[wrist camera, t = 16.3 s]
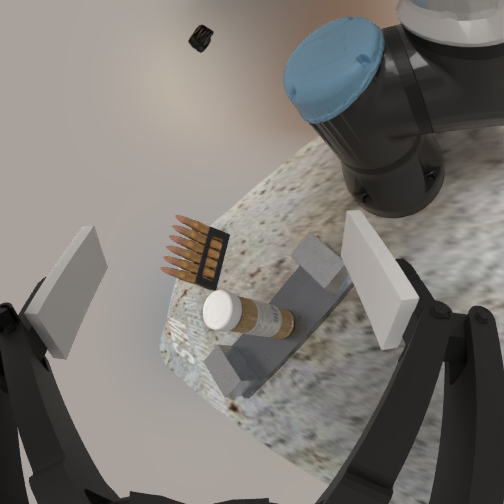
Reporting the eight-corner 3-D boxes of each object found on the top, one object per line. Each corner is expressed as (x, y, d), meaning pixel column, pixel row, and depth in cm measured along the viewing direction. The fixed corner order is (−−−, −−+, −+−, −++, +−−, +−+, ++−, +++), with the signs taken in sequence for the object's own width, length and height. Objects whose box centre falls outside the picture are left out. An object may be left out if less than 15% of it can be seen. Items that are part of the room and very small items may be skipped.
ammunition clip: (223, 234, 59) (174, 210, 50) (230, 234, 57) (180, 210, 49) (209, 289, 57) (156, 273, 48) (215, 290, 55) (162, 274, 47)
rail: (324, 242, 44) (307, 230, 40) (362, 275, 39) (348, 265, 35) (225, 360, 49) (202, 358, 45) (249, 397, 44) (226, 399, 40)
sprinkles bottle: (269, 310, 45) (202, 291, 36) (295, 306, 43) (231, 286, 33) (268, 340, 44) (200, 330, 34) (296, 338, 41) (230, 328, 31)
